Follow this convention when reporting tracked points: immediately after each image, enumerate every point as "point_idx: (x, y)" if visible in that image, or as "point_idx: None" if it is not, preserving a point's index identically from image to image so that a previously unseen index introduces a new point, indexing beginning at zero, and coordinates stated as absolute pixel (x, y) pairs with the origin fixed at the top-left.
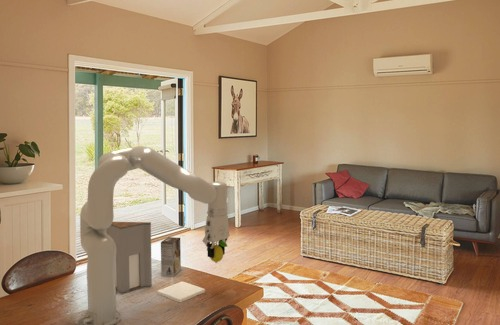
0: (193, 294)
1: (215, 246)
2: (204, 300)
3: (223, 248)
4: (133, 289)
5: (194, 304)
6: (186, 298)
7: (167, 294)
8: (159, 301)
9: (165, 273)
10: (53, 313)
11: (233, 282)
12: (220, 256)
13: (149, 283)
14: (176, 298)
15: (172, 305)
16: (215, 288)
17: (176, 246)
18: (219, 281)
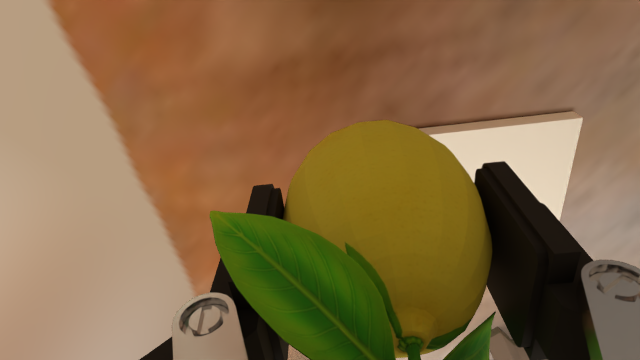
0: (471, 128)
1: (452, 308)
2: (466, 36)
3: None
4: None
5: (549, 32)
6: (526, 120)
7: (557, 214)
8: (611, 192)
9: None
10: None
11: (138, 130)
12: (393, 130)
13: (507, 344)
14: (575, 146)
15: (624, 110)
16: (288, 132)
17: None
18: (203, 193)
